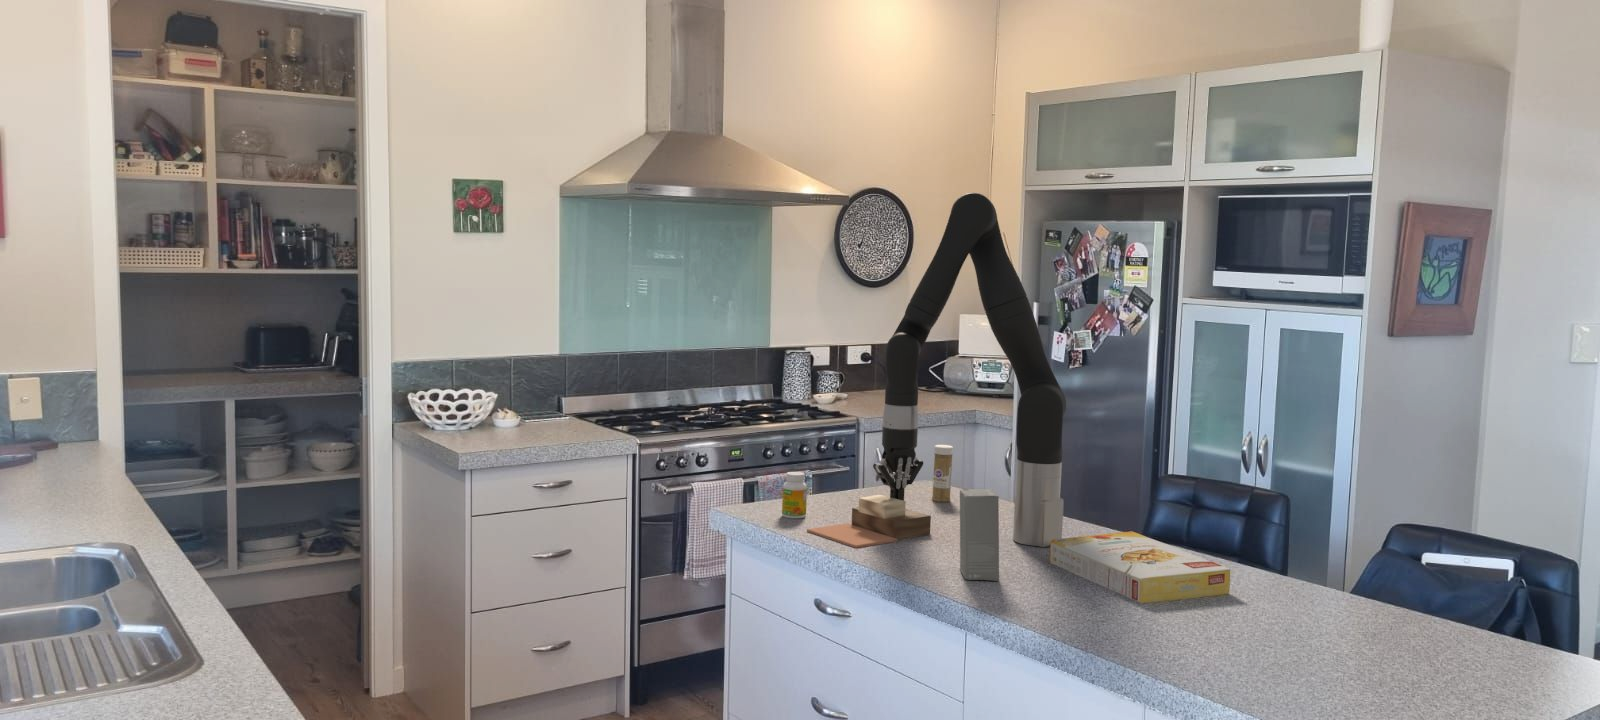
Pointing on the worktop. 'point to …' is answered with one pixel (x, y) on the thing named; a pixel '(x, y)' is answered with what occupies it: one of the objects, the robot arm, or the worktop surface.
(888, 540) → the terracotta mat
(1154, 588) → the cereal box
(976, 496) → the skincare box
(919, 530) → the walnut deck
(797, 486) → the supplement bottle
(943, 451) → the sprinkles bottle
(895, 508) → the birch block
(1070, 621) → the worktop surface
